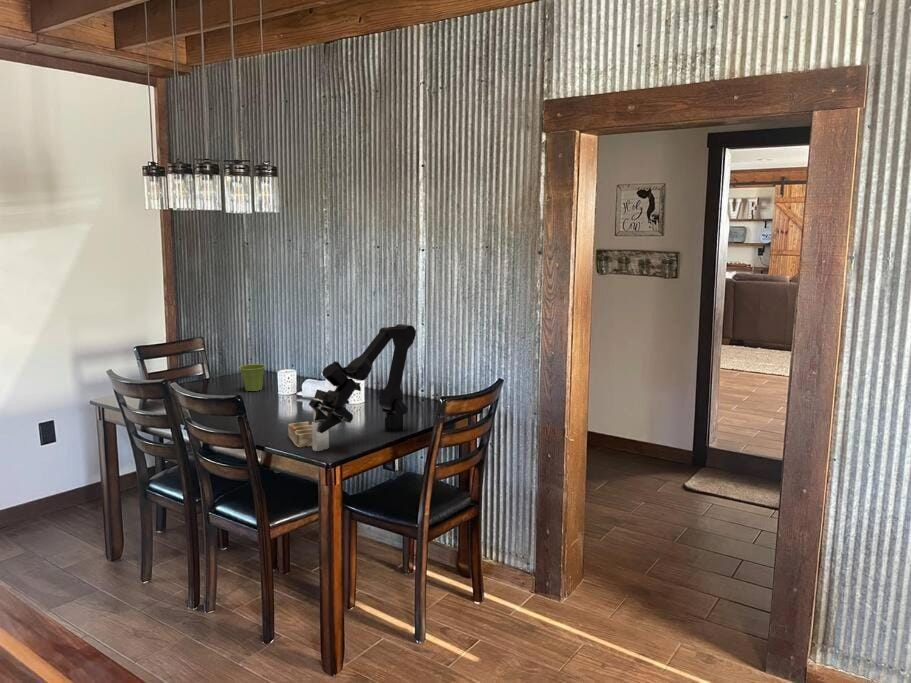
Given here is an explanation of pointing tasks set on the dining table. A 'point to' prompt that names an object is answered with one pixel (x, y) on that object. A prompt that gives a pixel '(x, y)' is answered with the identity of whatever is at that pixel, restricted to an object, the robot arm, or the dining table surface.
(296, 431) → the birch rack
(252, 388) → the plant pot
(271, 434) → the dining table surface
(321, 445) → the aluminium panel
